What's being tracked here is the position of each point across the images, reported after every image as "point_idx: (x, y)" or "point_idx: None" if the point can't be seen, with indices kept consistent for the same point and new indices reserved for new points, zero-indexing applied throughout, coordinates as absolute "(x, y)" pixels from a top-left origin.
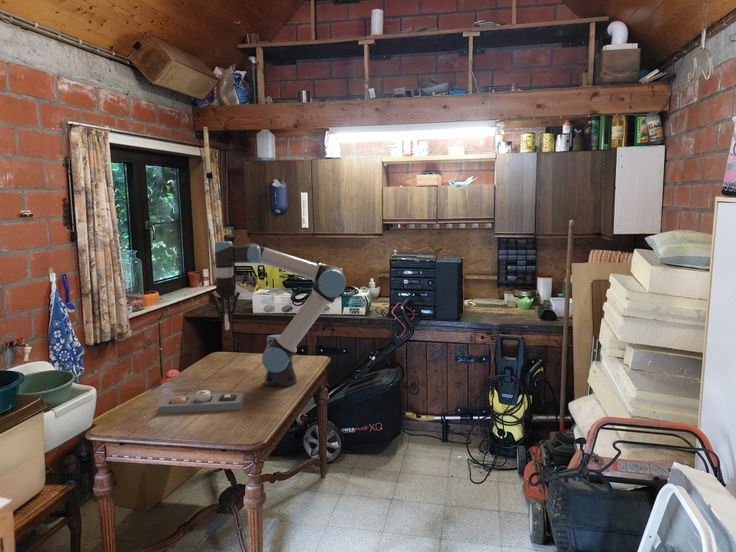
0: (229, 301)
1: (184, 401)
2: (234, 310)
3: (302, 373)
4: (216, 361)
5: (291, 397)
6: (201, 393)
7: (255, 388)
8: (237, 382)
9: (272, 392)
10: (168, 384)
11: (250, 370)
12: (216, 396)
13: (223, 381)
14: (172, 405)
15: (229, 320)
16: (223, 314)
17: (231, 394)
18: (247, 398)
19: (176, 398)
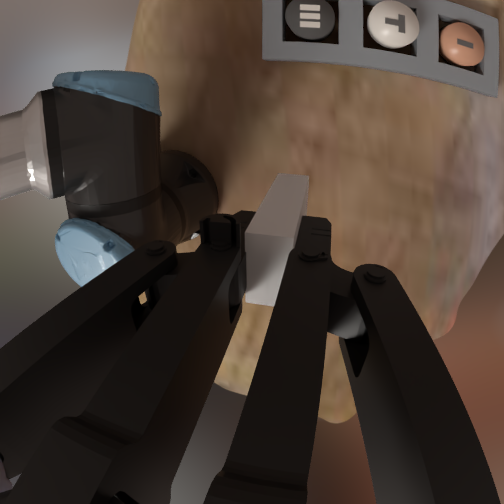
0: (106, 396)
1: (444, 29)
2: (127, 262)
3: None
4: None
5: (136, 70)
6: (398, 15)
7: (241, 154)
8: None
9: (188, 111)
10: (484, 257)
11: (270, 309)
12: (351, 40)
13: (344, 242)
14: (469, 12)
15: (249, 219)
16: (306, 249)
17: (298, 27)
18: (257, 69)
19: (470, 44)
